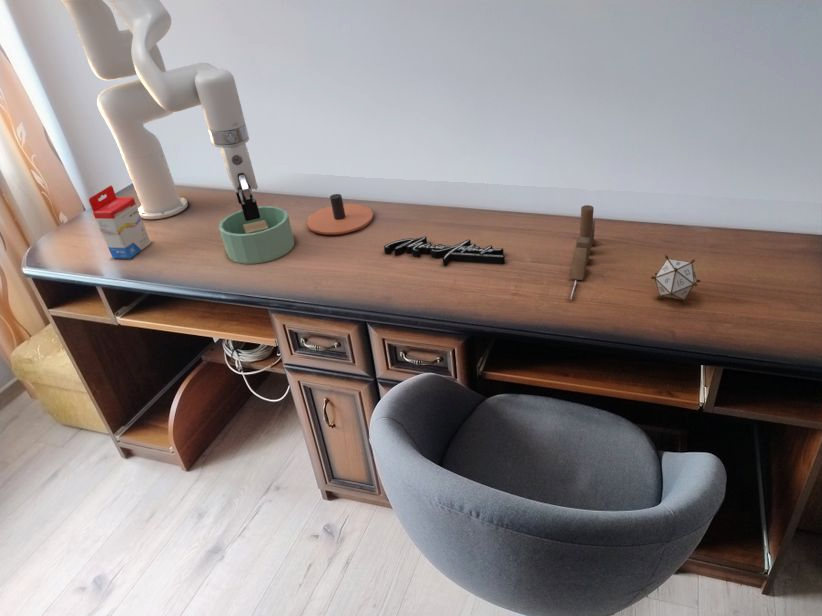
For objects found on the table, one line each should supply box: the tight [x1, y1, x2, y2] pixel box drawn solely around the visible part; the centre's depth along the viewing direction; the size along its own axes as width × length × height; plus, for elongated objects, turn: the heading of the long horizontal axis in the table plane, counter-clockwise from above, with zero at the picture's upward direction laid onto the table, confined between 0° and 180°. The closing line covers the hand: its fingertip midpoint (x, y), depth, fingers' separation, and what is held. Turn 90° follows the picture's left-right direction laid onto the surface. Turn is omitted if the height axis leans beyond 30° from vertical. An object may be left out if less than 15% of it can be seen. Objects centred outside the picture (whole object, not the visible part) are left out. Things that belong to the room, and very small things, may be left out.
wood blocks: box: [570, 204, 596, 301], centre depth 127 cm, size 25×3×10 cm, turn 164°
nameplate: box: [383, 236, 506, 267], centre depth 138 cm, size 28×2×10 cm
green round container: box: [218, 205, 295, 265], centre depth 145 cm, size 15×15×7 cm
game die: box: [650, 254, 701, 305], centre depth 117 cm, size 9×8×10 cm
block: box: [243, 220, 269, 234], centre depth 145 cm, size 5×5×5 cm
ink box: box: [88, 185, 152, 260], centre depth 146 cm, size 8×5×15 cm, turn 168°
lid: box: [306, 193, 374, 235], centre depth 154 cm, size 16×16×7 cm
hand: (249, 210), depth 142 cm, fingers open, 9 cm apart
